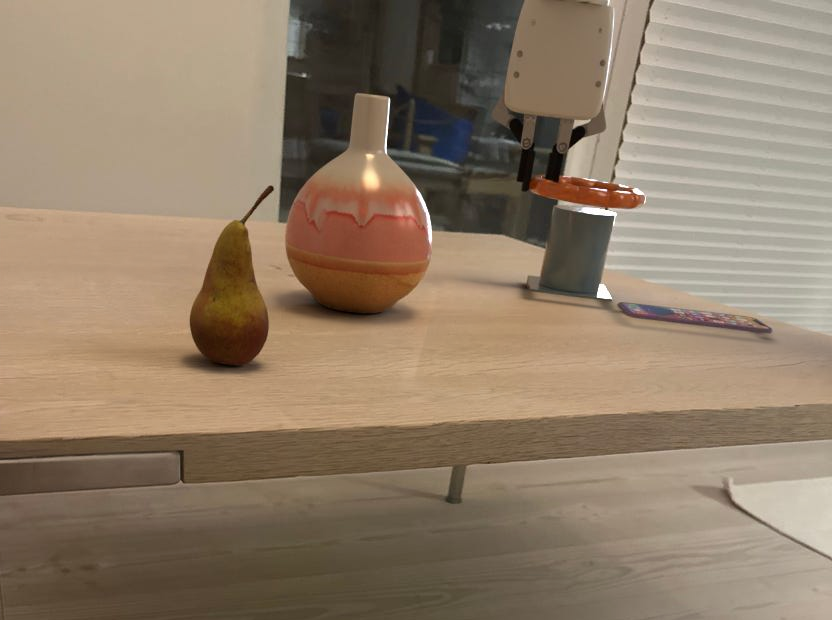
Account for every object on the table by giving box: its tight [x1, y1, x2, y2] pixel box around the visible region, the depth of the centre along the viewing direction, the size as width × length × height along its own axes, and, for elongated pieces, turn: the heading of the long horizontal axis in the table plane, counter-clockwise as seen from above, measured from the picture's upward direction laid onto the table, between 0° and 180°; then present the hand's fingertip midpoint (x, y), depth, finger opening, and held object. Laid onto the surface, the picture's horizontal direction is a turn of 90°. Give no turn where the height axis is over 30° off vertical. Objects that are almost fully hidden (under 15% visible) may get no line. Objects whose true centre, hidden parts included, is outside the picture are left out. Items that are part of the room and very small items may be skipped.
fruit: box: [189, 185, 275, 366], centre depth 65 cm, size 6×6×12 cm
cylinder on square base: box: [525, 204, 617, 302], centre depth 103 cm, size 9×9×9 cm
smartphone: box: [617, 301, 773, 334], centre depth 97 cm, size 1×7×15 cm
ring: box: [529, 174, 646, 210], centre depth 100 cm, size 12×12×2 cm
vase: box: [284, 92, 433, 314], centre depth 84 cm, size 14×14×18 cm
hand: (535, 190), depth 100 cm, fingers closed on ring, 1 cm apart
